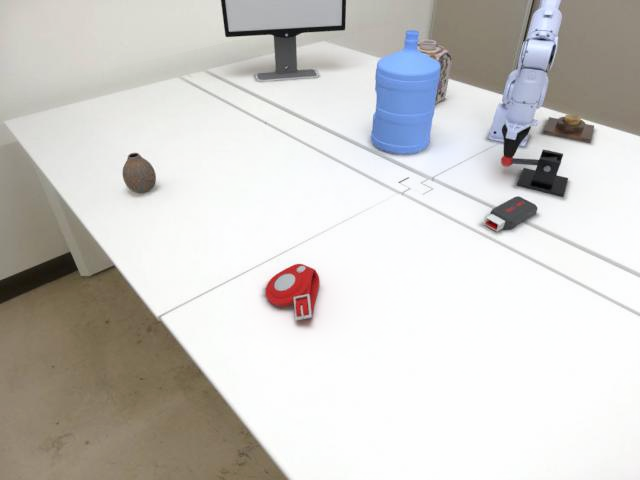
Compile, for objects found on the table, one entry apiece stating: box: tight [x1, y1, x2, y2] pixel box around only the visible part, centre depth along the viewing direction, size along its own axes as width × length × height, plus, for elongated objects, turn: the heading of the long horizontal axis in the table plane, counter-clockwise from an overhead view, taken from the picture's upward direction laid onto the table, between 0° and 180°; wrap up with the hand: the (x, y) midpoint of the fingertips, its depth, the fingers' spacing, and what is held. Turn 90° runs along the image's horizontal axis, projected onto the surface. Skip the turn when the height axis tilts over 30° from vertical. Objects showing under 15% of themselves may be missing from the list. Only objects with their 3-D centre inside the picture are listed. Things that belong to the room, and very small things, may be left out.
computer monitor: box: [220, 0, 347, 83], centre depth 153 cm, size 41×8×40 cm, turn 102°
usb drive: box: [483, 195, 538, 233], centre depth 95 cm, size 5×12×3 cm, turn 126°
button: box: [563, 113, 582, 125], centre depth 126 cm, size 4×4×2 cm
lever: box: [500, 155, 557, 168], centre depth 105 cm, size 12×3×3 cm, turn 61°
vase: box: [122, 152, 157, 195], centre depth 103 cm, size 7×7×9 cm
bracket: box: [516, 149, 569, 198], centre depth 104 cm, size 10×8×7 cm
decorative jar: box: [417, 39, 453, 105], centre depth 141 cm, size 12×12×18 cm
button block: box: [542, 116, 595, 144], centre depth 127 cm, size 12×10×3 cm
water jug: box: [370, 29, 441, 155], centre depth 115 cm, size 16×16×28 cm
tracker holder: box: [265, 263, 320, 321], centre depth 77 cm, size 12×4×10 cm
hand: (508, 155), depth 107 cm, fingers closed
